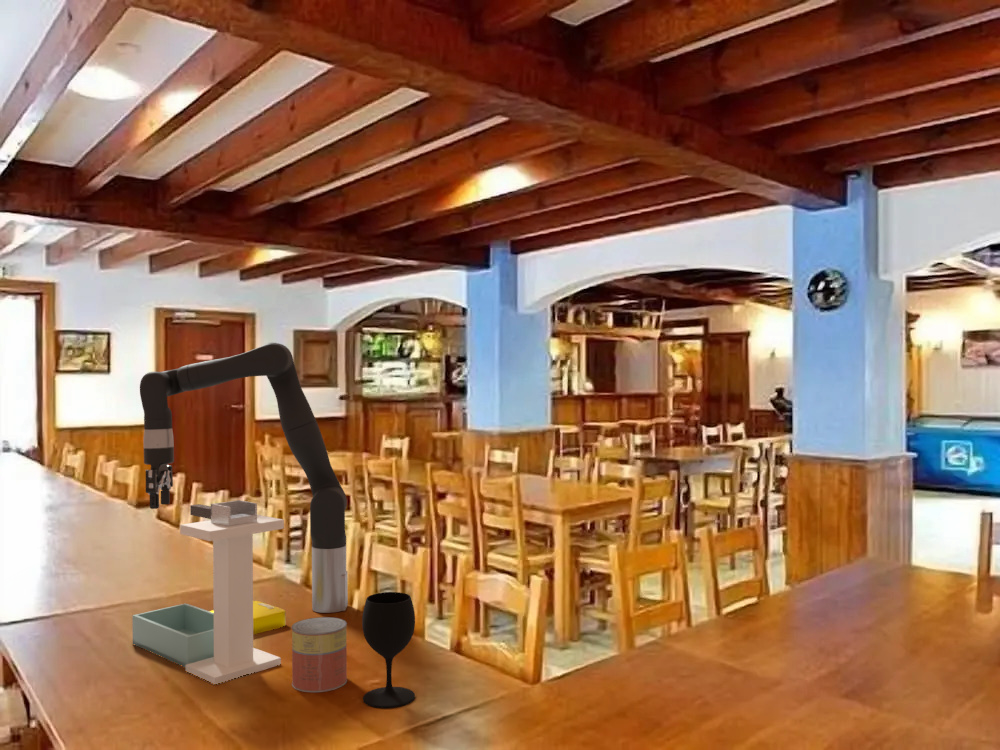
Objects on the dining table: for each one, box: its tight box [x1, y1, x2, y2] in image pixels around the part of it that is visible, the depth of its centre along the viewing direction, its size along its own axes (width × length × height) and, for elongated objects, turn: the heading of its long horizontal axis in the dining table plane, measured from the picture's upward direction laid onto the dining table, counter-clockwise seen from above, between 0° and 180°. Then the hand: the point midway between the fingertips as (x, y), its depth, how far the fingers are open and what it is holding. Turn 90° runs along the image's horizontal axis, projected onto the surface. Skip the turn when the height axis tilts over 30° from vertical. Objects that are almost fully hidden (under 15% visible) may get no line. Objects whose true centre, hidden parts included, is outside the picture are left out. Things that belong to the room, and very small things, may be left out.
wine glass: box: [361, 591, 416, 709], centre depth 168 cm, size 10×10×20 cm
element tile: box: [209, 600, 287, 636], centre depth 216 cm, size 15×15×5 cm
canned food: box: [291, 616, 348, 693], centre depth 177 cm, size 11×11×12 cm
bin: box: [131, 603, 214, 668], centre depth 198 cm, size 26×14×7 cm, turn 49°
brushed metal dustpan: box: [189, 500, 258, 527], centre depth 189 cm, size 20×7×4 cm, turn 49°
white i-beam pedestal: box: [179, 514, 285, 685], centre depth 185 cm, size 12×18×32 cm, turn 139°
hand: (160, 506), depth 227 cm, fingers open, 8 cm apart
